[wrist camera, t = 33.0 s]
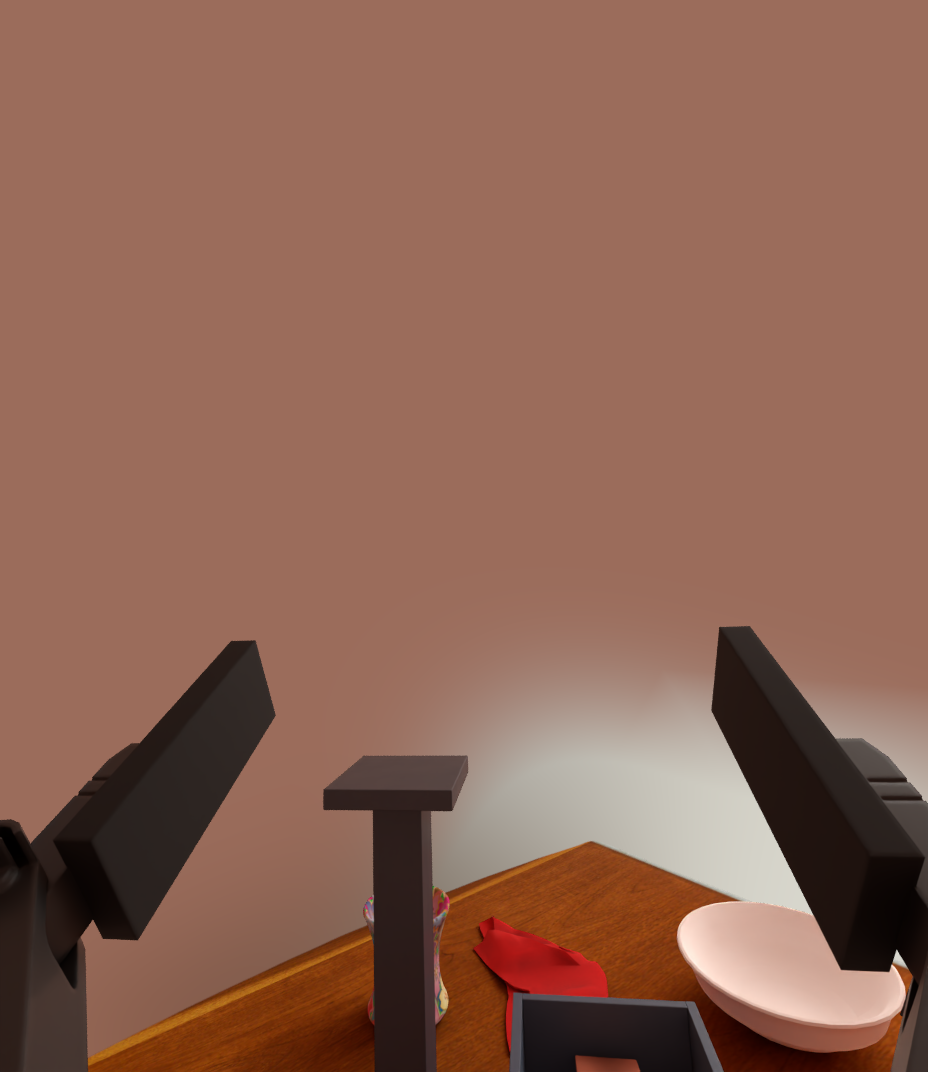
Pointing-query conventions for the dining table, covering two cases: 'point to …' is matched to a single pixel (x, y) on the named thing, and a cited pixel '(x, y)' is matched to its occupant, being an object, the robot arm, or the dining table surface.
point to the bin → (608, 1033)
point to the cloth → (536, 966)
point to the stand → (402, 894)
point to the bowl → (786, 977)
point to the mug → (439, 916)
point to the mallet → (605, 1064)
